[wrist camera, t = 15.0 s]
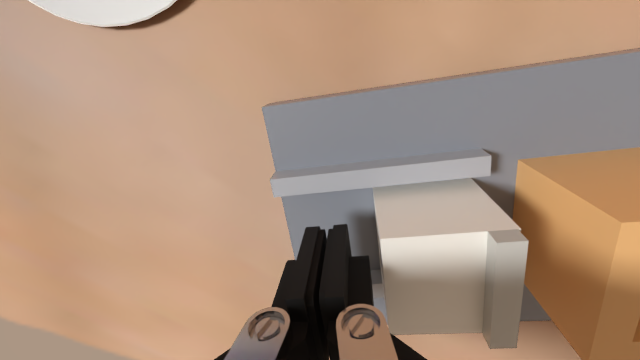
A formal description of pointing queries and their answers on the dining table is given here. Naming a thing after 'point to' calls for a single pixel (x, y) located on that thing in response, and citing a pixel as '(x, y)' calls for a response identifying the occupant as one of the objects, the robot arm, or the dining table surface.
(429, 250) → the cream square block
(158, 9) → the pudding
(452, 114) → the base
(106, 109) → the dining table surface
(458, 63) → the dining table surface
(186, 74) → the dining table surface
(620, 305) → the orange hollow cube
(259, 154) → the dining table surface
